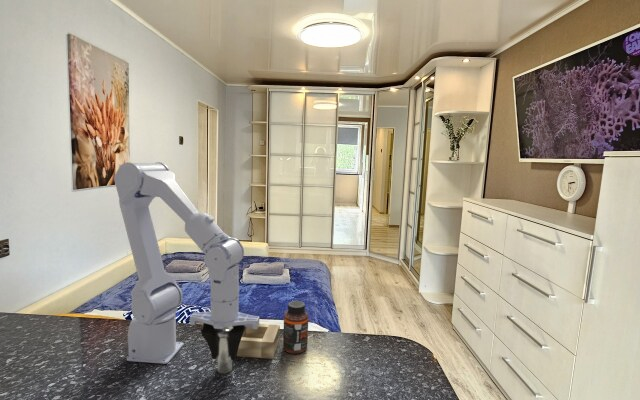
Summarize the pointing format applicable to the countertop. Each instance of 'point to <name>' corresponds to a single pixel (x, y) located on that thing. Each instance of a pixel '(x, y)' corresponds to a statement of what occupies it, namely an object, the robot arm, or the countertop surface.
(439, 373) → the countertop surface
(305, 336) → the supplement bottle
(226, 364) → the pin
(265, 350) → the hole block
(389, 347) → the countertop surface
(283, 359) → the countertop surface
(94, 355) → the countertop surface
